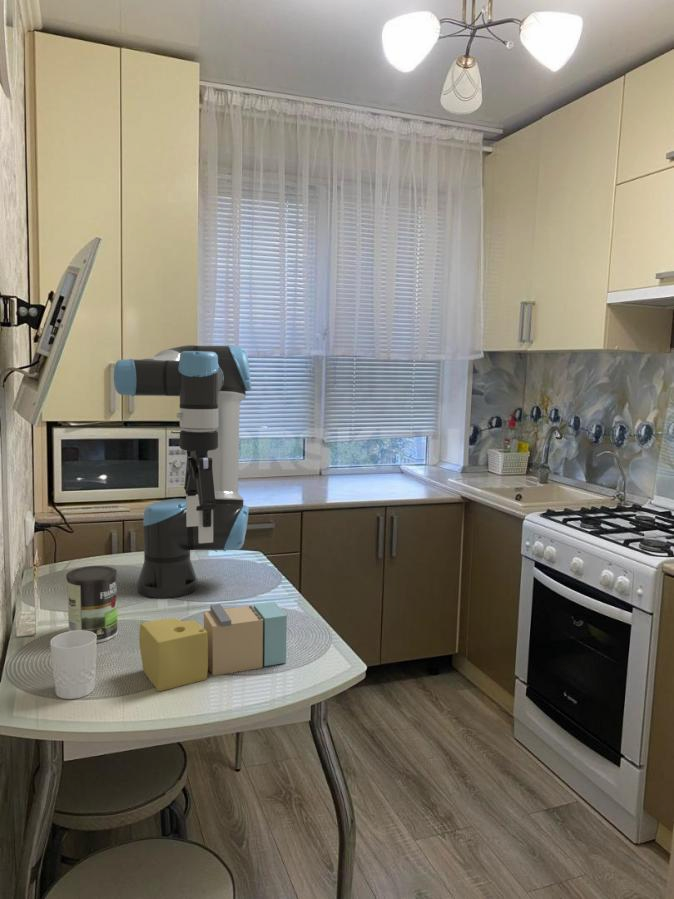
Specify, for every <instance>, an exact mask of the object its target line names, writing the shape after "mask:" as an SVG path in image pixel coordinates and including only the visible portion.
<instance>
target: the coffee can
mask: <svg viewBox="0 0 674 899" xmlns="http://www.w3.org/2000/svg"><path fill="white" fill-rule="evenodd" d="M117 575H118V571H117V569H116V568H114V567H112V566H107V565H106V566H105V565H92V566H91V565H89V566H83V567H79V568H75V569H72V570H71V571H68V572H67V573H66V575H65V577H66V578H65V579H66V584H67V585H66V586H67V587H66V588H67V611H68V612H67V613H68V614H67V615H68V619H67V620H68V631H75V630H86V631H91V632H93V633H95V634H96V636H97V644H100V643H105V642H107V641H109V640H112V639H114V638H115V637H116V636H118V633H119V630H118V598H117V597H118V593H117V591H118V590H117V588H118V587H117Z"/></svg>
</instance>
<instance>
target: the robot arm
mask: <svg viewBox="0 0 674 899" xmlns="http://www.w3.org/2000/svg"><path fill="white" fill-rule="evenodd" d="M248 356H249V355H248V352H247V350H246V349H245V348H244V347H241V346H232V345H194V344H193V345H191V344H190V345H181V346H176V347H172V348H168V349H163V350H161V351H159V352H158V353H156V354H155V355H154V356H151V357H148V358H143V359H132V358H129V359H119V360H117V361H116V362H115V365H114V368H113V387H114V389H115V391H116V393H117V394H118V395H122V396H131V397H135V396H139V397H140V396H141V397H142V396H143V397H144V396H147V397H148V396H155V397H157V396H158V397H159V396H160V397H161V396H162V397H163V396H166V397H179V412H177V413H176V418H178V419H179V427H180V428H181V429H182V430H180V432H179V448H180V449H181V450H183V451H186V464H185V465H186V466H185V474H184V475H185V476H184V477H185V479H184V486H183V489H184V490H185V495H186V496H185V498H181V497H180V498H172V499H171V498H170V499H169V498H168V499H164V500H159V501H156V502H153V503H151V504H148V505H147V506H146V507H145V509H144V511H143V522H142V526H143V552H144V553H143V555H144V556H143V557H144V558H143V564H142V568H141V570H140V573H139V576H138V579H137V591H138V593H140V594H141V595H142V596H145V597H150V598H156V599H157V598H158V599H168V598H169V599H170V598H178V597H183V596H186V595H188V594H191V593H193V592H195V590H196V589H197V588H198V579H197V575H196V572H195V569H194V565H193V563H192V560H191V551H222V552H226V551H237V550H240V549H241V548H242V547H243V545H244V543H245V539H246V538H245V537H246V533H247V527H248V521H249V511H250V508H249V506H248V505H246V504H245V505H244V498H243V497H242V496H241V494H240V493H239V460H240V459H239V457H240V456H239V454H240V453H239V449H240V447H239V445H240V409H241V408H240V407H241V406H240V404H241V402H242V401H244V399H246V393H247V392H249V391H251V390H252V381H251V373H250V372H251V371H250V365H249V364H250V363H249V357H248Z"/></svg>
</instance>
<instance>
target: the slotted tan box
mask: <svg viewBox="0 0 674 899" xmlns="http://www.w3.org/2000/svg"><path fill="white" fill-rule="evenodd" d="M203 628H204V629H205V630H206V631H207V639H208V670H209V672H211V675H212V676H213V677H214V676H219V675H226V674H232V673H238V671H239V672H243V671H251V670H256V669H262V668H263V619H262V618H261V617H260V616H259V614H258V613H257V612H256V611H255V609H254V606H253V605H247V606H239V607H230V608H224V607H223V606H222V605H221V603H218V604H211V605H210V610H209V611H208V610H207V611H203Z"/></svg>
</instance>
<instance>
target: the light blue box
mask: <svg viewBox="0 0 674 899" xmlns="http://www.w3.org/2000/svg"><path fill="white" fill-rule="evenodd" d="M253 608H254V609H255V611H256V612H257V613H258V614H259V616H260V617H261V618H262V619H263V664H262V666H264V667H268V666H275V665H279V664H280V665H281V664H286V663H287V624H288V623H287V621H288V620H287V619H288V618H287V614H286V613H285V612H284V611H283V610H282V609H281V607H280V606H279V605H278V603H276V602H275V601H271V602H270V601H269V602H262V603H254V604H253Z"/></svg>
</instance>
